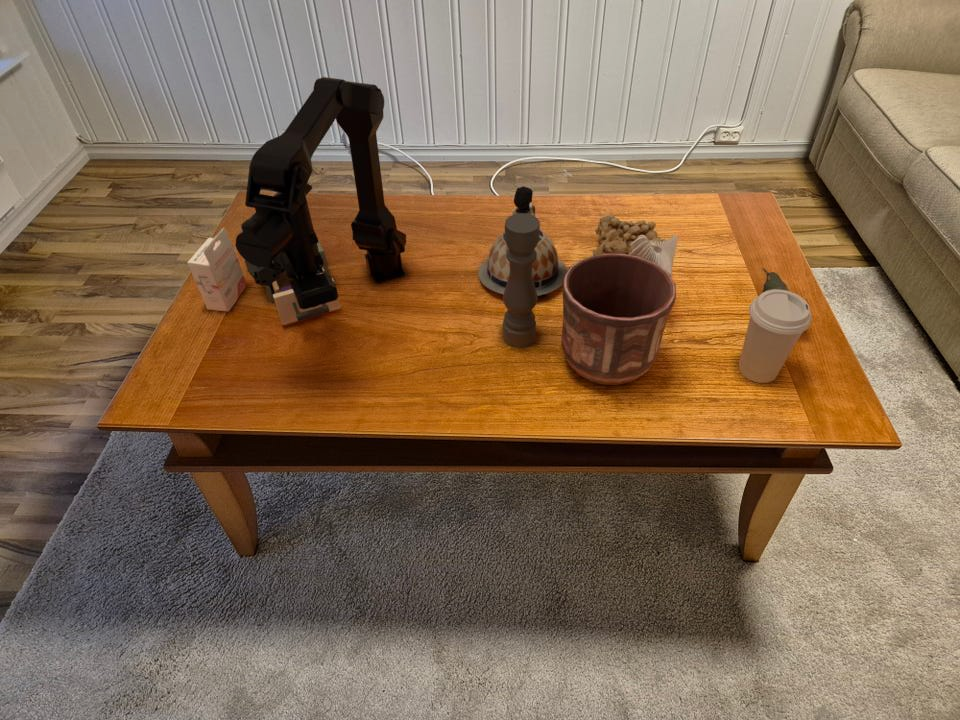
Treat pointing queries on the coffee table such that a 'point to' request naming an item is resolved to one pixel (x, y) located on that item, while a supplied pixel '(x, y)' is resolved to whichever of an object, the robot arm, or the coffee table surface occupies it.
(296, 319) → the drawer
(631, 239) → the mineral formation
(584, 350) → the pottery
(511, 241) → the candle holder
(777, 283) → the sculpture
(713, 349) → the coffee table surface
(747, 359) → the coffee cup
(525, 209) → the patterned domed piece
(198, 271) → the ink cartridge box
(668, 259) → the shell sculpture
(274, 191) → the robot arm
